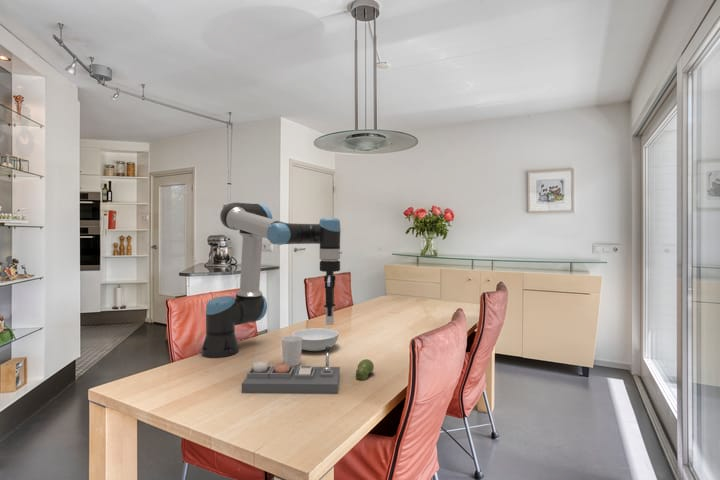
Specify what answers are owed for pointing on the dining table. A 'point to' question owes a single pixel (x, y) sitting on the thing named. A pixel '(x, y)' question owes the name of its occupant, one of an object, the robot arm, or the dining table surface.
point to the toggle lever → (327, 360)
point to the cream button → (260, 366)
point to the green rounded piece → (364, 369)
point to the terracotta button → (282, 368)
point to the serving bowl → (317, 338)
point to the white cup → (292, 350)
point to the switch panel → (292, 381)
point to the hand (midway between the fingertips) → (329, 324)
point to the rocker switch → (305, 370)
